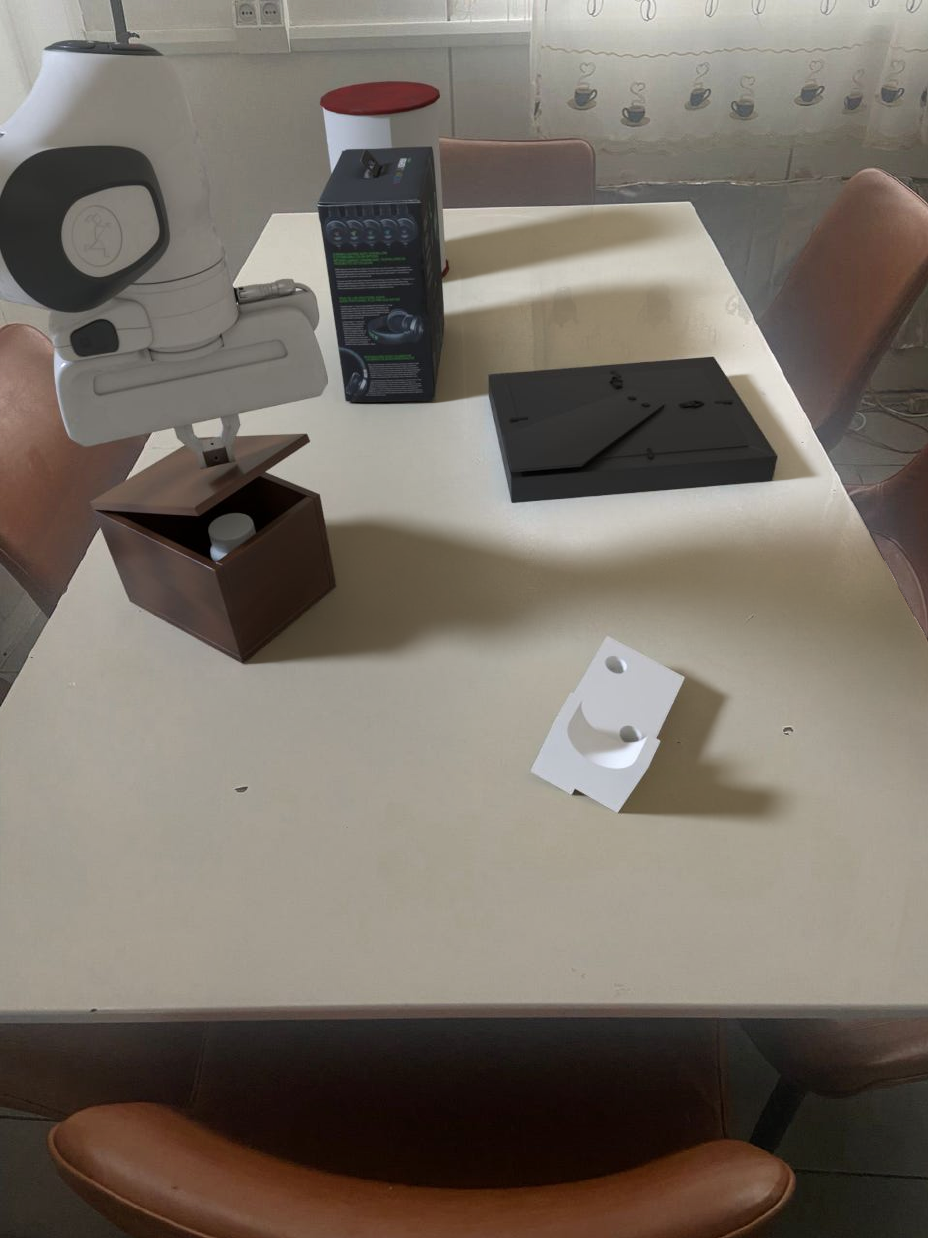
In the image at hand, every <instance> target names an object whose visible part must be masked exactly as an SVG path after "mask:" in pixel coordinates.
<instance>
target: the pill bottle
mask: <svg viewBox="0 0 928 1238" xmlns="http://www.w3.org/2000/svg"><path fill="white" fill-rule="evenodd" d="M208 533H209V536H210V541H211V543H212V546H211V549H210V553H211V558H212V560H213V561H214V562H217V561H218V560H220V559H221V558H222V557H224V556H225V555H227V554H228V553H229V552H231V551H232V550H234V549H235V548H236V547H238V546H239V545H240V544H242V543H243V542H245V541H246V540H247V539H249V538H250V537H252V536H253V535H254V534H256V530H255V527H254V523H253V521H252V519H251V518H250V517H249V516H247V515H245V514H241V513H231V514H226V515H223V516H220V517H218V518H217V519H215V520H214V521H213V522H212V523H211V524H210V525H209V528H208Z"/></svg>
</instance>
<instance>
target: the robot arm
mask: <svg viewBox="0 0 928 1238" xmlns="http://www.w3.org/2000/svg"><path fill="white" fill-rule="evenodd" d="M40 59H41V60H40V71H39V73H38V75H37V78H36V80H35V81H34V84H33V86H32V88H31V89H30V91H29V93H28V94H27V96H26V97H25V99H24V100H23V102H22V104H20V105H19V107H18V108H17V110H16V111H14V113H13V114H12V115H11V116H10V117H9V118H8V119H7V120H5V122H4V123H1V125H0V300H1V301H6V302H9V303H13V304H14V303H15V304H19V305H23V306H27V307H31V308H36V309H40V310H43V311H44V310H45V311H49V312H48V319H47V324H48V325H47V326H48V327H47V328H48V332H49V337H50V340H51V343H52V346H53V348H54V351H53V374H54V375H53V376H54V385H55V390H56V396H57V403H58V407H59V411H60V413H61V414H60V415H61V419H62V421H63V424H64V428H65V430H66V433H67V436H68V437H69V438H70V439H71V440H72V441H73V442H75V443H77V444H78V445H79V446H82V447H83V448H87V447H93V446H98V445H102V444H106V443H111V442H116V441H120V440H125V439H130V438H134V437H138V436H143V435H147V434H152V433H157V432H162V431H166V430H170V429H173V430H174V432H175V436H176V440H178V441H179V442H181V443H182V444H183V446H184V445H186V446H187V447H188V448H189V449H190V450H191V451H193V452H194V453H196V455H197V458H198V462H199V465H200V468H201V469H205V468H209V467H213V466H217V465H222V464H226V463H229V462H230V463H231V462H235V457H234V453H233V449H232V445H233V443H234V440H235V438H236V436H238V433H239V430H240V427H241V420H240V416H239V415H240V414H244V413H249V412H254V411H258V410H264V409H268V408H273V407H277V406H281V405H286V404H291V403H295V402H300V401H305V400H309V399H313V398H318V397H321V396H322V395H323V393H324V391H325V390H326V388H327V386H328V384H329V378H328V372H327V369H326V364H325V360H324V357H323V353H322V350H321V347H320V345H319V342H318V339H317V336H316V333H315V331H316V330H317V328H318V326H319V323H320V311H319V305H318V299H317V296H316V294H315V292H314V291H313V290H312V289H311V288H310V287H309V286H308V285H306V284H304V283H301V282H295V281H294V279H293V278H282V279H277V280H275V281H272V282H270V283H269V282H267V283H256V284H255V283H254V284H248V285H243V286H238V287H234V284H233V279H232V275H231V271H230V266H229V262H228V257H227V253H226V247H225V245H224V241H223V239H222V237H221V234H220V233H219V232H218V230H217V228H216V225H215V223H214V220H213V215H212V211H211V209H212V208H211V195H212V188H211V186H212V185H211V180H210V175H209V171H208V167H207V162H206V158H205V157H206V156H205V153H204V149H203V146H202V141H201V138H200V137H201V136H200V134H199V130H198V126H197V124H196V120H195V117H194V113H193V110H192V107H191V105H190V101H189V98H188V96H187V92H186V91H185V88H184V85H183V83H182V81H181V78H180V77H179V75H178V72H177V70H176V69H175V67H174V65H173V64H172V62H171V61H170V59H169V58H168V57H167V56H166V55H164V54H163V53H162V52H160V51H159V50H157V49H155V48H154V47H152V46H149V45H146V44H142V43H128V42H117V41H100V40H88V39H87V40H83V39H82V40H81V39H68V40H67V39H66V40H61V41H56V42H54V43H52V44H50V45H48V46H46V47H44V48H43V49H42V51H41V57H40ZM297 289H298V290H297ZM216 419H217V420H218V419H220V422H221V425H222V427H221V431H220V434H219V436H214V437H215V438H211V439H206V440H200V439H199V438H200V437H198V436H197V435H196V434H195V431H194V427H193V424H198V423H202V422H203V423H204V422H208V421H211V420H212V421H213V420H216Z"/></svg>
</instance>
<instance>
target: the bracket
mask: <svg viewBox="0 0 928 1238" xmlns="http://www.w3.org/2000/svg"><path fill="white" fill-rule="evenodd" d="M604 638H605V639H604V641H603V642H602V644H601V645H600V647H599V649H598V650H597V652H596V654H595V655H594V657H593V659H592V661H590V664H589V666H588V667H587V669H586V670H585V672H584V674H583V676H582V677H581V680H580V681H579V683H578V685H577V686H576V689H575V690H574V691H571V692H570V693H569V695H568V697H567V698H566V701H565V702H564V704H563V705H562V707H561V708H560V710H559V712H558V714H557V715H556V717H555V719H554V722H553V724H552V726H551V727H550V730H549V732H548V734H547V736H546V738H545V740H544V742H543V743H542V746H541V749H540V751H539V752H538V754H537V757H536V759H535V761H534V763H533V765H532V767H531V769H530V772H531V773H532V774H534V775H536V776H537V777H539V778H541V779H543V780H545V781H546V782H548V783H550V784H551V785H553V786H555V787H557V788H558V789H560V790H562V791H564V792H566V793H568V794H569V795H571V796H572V795H573V793H574V791H575V790H577V791H578V792H579V793H581V794H584V795H585V796H587V797H588V798H591V799H592V800H594V801H596V802H597V803H599V804H601V805H602V806H605V807H606V808H608V809H610V810H612V812H615V813H616V814H618V813H619V812H620V810H621V809H622V807H623V806H624V804H625V803H626V801H627V800H628V798H629V797H630V795H631V794H632V792H633V791H634V790H635V788H636V787H637V785H638V783H639V782H640V781H641V779H642V778H643V776H644V774H645V773H646V772H647V770H648V769H649V767H650V765H651V763H652V760H653V758H654V756H655V754H656V751H657V750H658V748H659V745H660V743H661V740H660V739H658V738H657V737H658V736H659V733H660V732H661V729H662V727H663V725H664V723H665V721H666V719H667V717H668V714H669V712H670V710H671V708H672V706H673V705H674V702H675V700H676V698H677V695H678V693H679V691H680V689H681V686H682V685H683V683H684V680H685V678H686V676H683V675H682V674H680V673H678V672H676V671H675V670H672V669H670V668H668V667H667V666H665V665H663V664H661V663H659V662H657V661H655V660H653V659H652V658H650V657H648V656H646V655H644V654H642V653H640V652H638V651H636V650H635V649H633V648H631V647H629V646H627V645H625V644H623V643H621V642H619V641H617V640H616V639H614V638H612V637H610V636H608V635H606V637H604Z"/></svg>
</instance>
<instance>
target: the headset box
mask: <svg viewBox="0 0 928 1238" xmlns="http://www.w3.org/2000/svg"><path fill="white" fill-rule="evenodd" d="M316 207H317V213H318V220H319V223H320V231H321V237H322V243H323V250H324V251H323V252H324V257H325V264H326V271H327V278H328V285H329V293H330V298H331V306H332V307H331V308H332V312H333V319H334V327H335V333H336V342H337V348H338V349H337V350H338V356H339V360H340V361H339V364H340V369H341V376H342V377H341V378H342V384H343V392H344V399H345V402H349V403H380V402H384V403H385V402H423V401H424V402H425V401H427V402H429V401H435V396H436V389H437V381H438V373H439V367H440V360H441V353H442V345H443V338H444V331H445V304H444V303H445V302H444V288H443V277H442V269H441V253H440V238H439V222H438V207H437V193H436V180H435V167H434V155H433V148H432V146H430V147H402V148H380V149H347V150H345V151H343V150H342V153H341V156H340V158H339V160H338V162H337V164H336V166H335V168H334V170H333V172H332V173H331V175H330V176H329V178H328V180H327V182H326V184H325V186H324V188H323V190H322V193H321V194H320V196H319V198H318V201H317V205H316Z"/></svg>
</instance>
